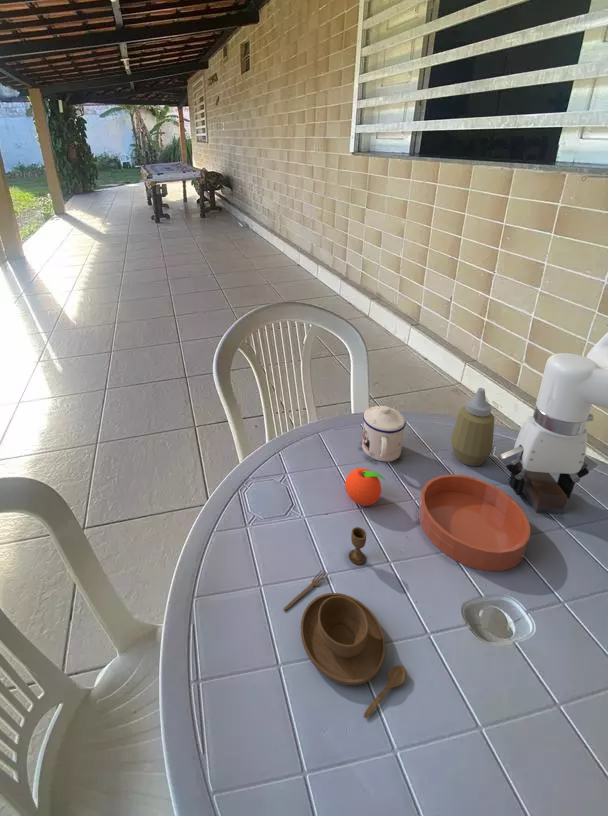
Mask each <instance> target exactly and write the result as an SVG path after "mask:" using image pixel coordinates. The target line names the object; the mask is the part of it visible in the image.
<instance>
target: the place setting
mask: <svg viewBox="0 0 608 816" xmlns="http://www.w3.org/2000/svg"><path fill="white" fill-rule="evenodd" d="M350 540H351V544H352V545H353V547H354V549H351V550H350V551H349V552H348V558H349V560H350V562H351V563H352V564H354V565H357V566H361V565H363V564H365V562H366V556H365V553H363V551H361V549H363V548H365V546H366V542H367V532H366V531H365V529H364V528H362V527H359V526H355V527H353V528H352V530H351V537H350ZM328 575H329V573H327V572H326V571H324V568H322V569H321V570H320V571H319V572H318V573H317V574H316V575H315V577H314V578H313V579H312V580H311V583H310V584H309V585H307V586H306V588H304V589H303V590H302V591H301V592H300V593H298V594H297V595H296V596H295V597H294V598H293V599H292V600H291V601H290V602H289V603H288V604H287V605H285V607H284V608H283V612H285V611H287V610H289V609H290V608H291V607H292V606H293V605H295V604H296V603H297V602H298V600H300V599H301V598H303V596H305V595H306V593H307V592H309V590H311V589H312V588H313V587H319V586H320V585H321V584H322V583H323V582H324V580H325V579H326V578H327V577H328ZM324 576H325V577H324ZM381 626H382V625H381V624H380V622H379V620H378V618H377V617H376V616H375V615H374V613H373V612H372V610H371V609H369V608H368V607H367V606H366V605H365V604H364V603H363V602H362V601H360V600H359V599H356V598H355V597H352V596H350V595H347V594H345V593H340V592H329V593H328V592H327V593H324V594H320V595H319V596H316V597H315V598H314V599H312V600H311V601H310V602H309V603H308V605H307V606H306V608H305V609H304V611H303V613H302V616H301V620H300V635H301V636H300V637H301V643H302V646H303V648H304V651H305V653H306V655H307V657H308V659H309V660H310V662H311V663H312V665H313V666H314V667H315V668H316V669H317V670H318V671H319V672H320V673H321V674H322V675H324V676H325V677H326V678H327V679H330V680H331V681H332V682H335V683H337V684H341V685H346V686H357V685H358V686H359V685H363V684H365V683H367V682H369V681H370V680H372V679H373V678H374V677H375V676H376V675H377V674H378V673H379V671H380V670H381V668H382V666H383V663H384V661H385V656H386V639H385V634H384V631H383V629H382V627H381ZM386 677H387V678H386V684H385V686H384V687H383V688H382V690H381V691H380V692H379V693H378V694H377V696H376V697H375V698H374V699H373V701H372V702H371V703H370V704H369V706H368V707H367V708H366V710H365V712H364V713H363V718H364V719H367V718H368V717H369V716H370V715H371V714H372V713H373V712H374V710H375V709H376V708H377V707H378V705H379V704H380V703H381V700H383V698H384V697H385V695H386V694H387V693H388V691H390V690H391V689H392V688H398V687H400V686H401V685H402V684H403V683H404V682H405V679H406V668H405V667H404V666H403V665H395V666H392V667H391V668H390V669H389V671H388V672H387V676H386Z"/></svg>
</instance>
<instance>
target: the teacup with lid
mask: <svg viewBox="0 0 608 816" xmlns="http://www.w3.org/2000/svg"><path fill="white" fill-rule="evenodd" d="M362 420H363V427H362V428H363V429H362V430H363V431H362V438H361V439H362V440H361V448H362V450H363V452H364V453H365V454H366V456H368V457H370V458H371V459H373V460H376V461H379V462H393V461H396V460H397V459H398V458H400V457H401V454H402V448H403V440H404V430H405V428H406V425H407V424H406V423H407V422H406V419H405V417H404V415H403V414H402V413H401V412H400V411H398V410H397V409H395V408H393V407H389V406H387V405H375V406H371V407H369V408H367V409H366V410H364V413H363V415H362Z"/></svg>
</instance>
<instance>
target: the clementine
mask: <svg viewBox="0 0 608 816" xmlns="http://www.w3.org/2000/svg"><path fill="white" fill-rule="evenodd" d="M379 478H380V479H383V480H384V481H386V479H385V477H384V476H382V475H381V474H380V473H377V472H376V471H372V470H371V469H368V468H364V467H359V468H355V469H353V470H351V471H349V473H348V474H347V476H346V478H345V482H344V486H345V487H344V488H345V492H346V494H347V496H348V497H349V498H350V500H351V501H353V502H354V503H355V504H357V505H360V506H363V507H364V506H365V507H366V506H371V505H374V504H375V503H377V501H378V500H379V499H380V497H381V495H382V484H381V481H380V479H379Z"/></svg>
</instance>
